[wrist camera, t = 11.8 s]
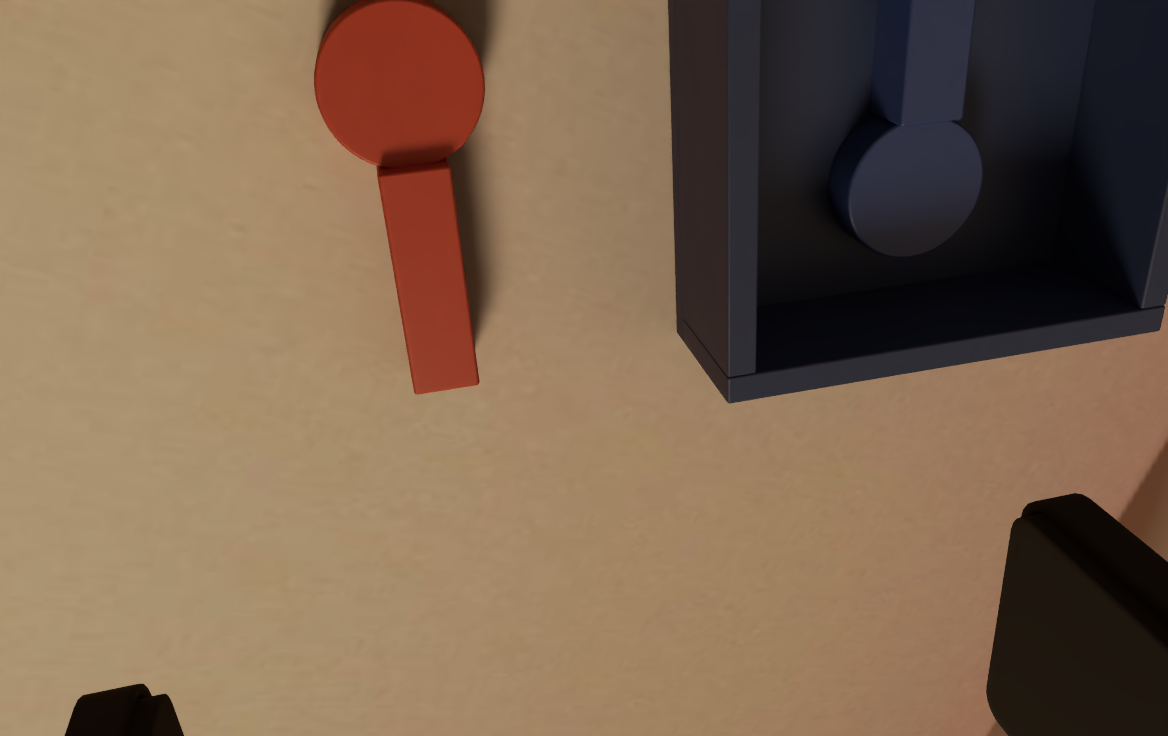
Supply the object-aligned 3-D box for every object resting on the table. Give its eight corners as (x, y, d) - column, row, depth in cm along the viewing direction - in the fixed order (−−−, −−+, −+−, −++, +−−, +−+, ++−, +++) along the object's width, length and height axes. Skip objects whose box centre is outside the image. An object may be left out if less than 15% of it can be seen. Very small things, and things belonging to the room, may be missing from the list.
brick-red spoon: (510, 351, 25) (520, 379, 24) (372, 373, 25) (373, 402, 23) (468, -16, 21) (476, -9, 20) (301, 0, 21) (296, 9, 19)
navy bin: (660, -253, 20) (728, -283, 16) (1150, -282, 22) (1307, -315, 18) (676, 333, 26) (727, 404, 23) (1057, 273, 28) (1160, 331, 24)
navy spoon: (843, -135, 21) (878, -136, 20) (994, -146, 22) (1037, -148, 20) (823, 252, 25) (851, 274, 24) (950, 234, 26) (984, 254, 24)
